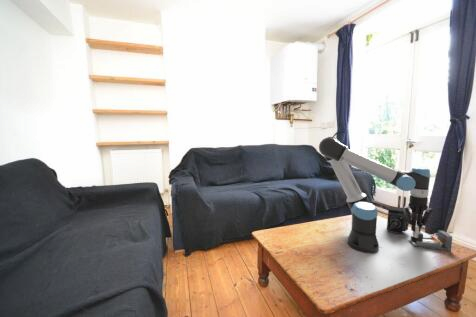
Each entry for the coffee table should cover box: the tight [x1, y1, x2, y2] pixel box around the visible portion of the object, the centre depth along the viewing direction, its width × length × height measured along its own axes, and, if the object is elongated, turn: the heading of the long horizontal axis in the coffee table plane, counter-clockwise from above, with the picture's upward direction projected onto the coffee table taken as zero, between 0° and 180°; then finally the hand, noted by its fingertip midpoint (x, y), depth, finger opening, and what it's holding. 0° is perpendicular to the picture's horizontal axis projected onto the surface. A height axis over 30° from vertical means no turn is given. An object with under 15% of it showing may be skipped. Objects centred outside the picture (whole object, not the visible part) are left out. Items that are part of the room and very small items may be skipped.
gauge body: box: [408, 229, 453, 252], centre depth 116 cm, size 16×7×8 cm, turn 75°
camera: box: [386, 205, 410, 235], centre depth 133 cm, size 10×10×15 cm
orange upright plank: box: [430, 234, 441, 243], centre depth 116 cm, size 2×7×4 cm, turn 164°
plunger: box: [415, 231, 435, 242], centre depth 117 cm, size 8×4×6 cm, turn 75°
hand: (415, 236), depth 118 cm, fingers closed
